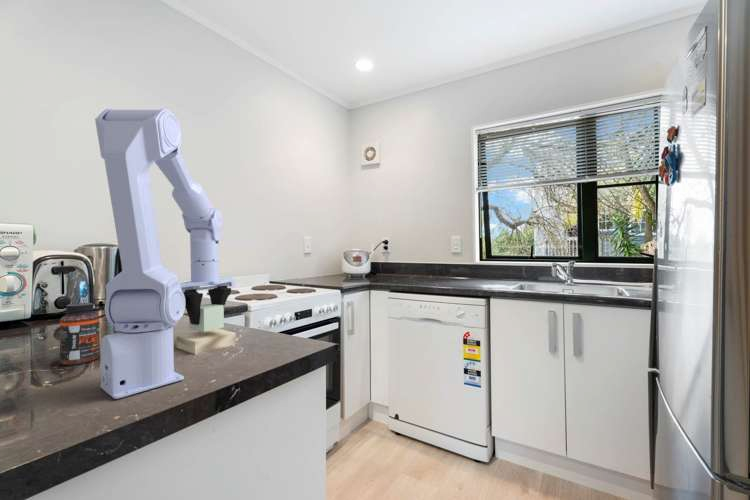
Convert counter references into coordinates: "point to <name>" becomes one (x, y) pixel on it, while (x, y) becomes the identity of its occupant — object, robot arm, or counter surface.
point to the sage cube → (209, 318)
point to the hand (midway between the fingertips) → (206, 321)
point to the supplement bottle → (79, 334)
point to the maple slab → (205, 340)
